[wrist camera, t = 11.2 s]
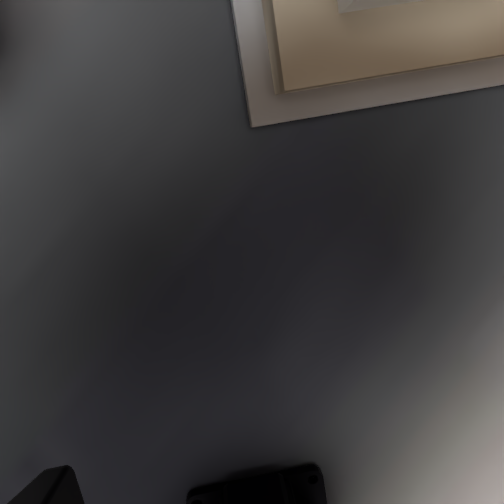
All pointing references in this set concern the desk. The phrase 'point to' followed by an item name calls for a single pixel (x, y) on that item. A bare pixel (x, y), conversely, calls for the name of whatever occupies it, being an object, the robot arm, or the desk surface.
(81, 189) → the desk surface
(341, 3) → the block
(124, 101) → the desk surface
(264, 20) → the stand
